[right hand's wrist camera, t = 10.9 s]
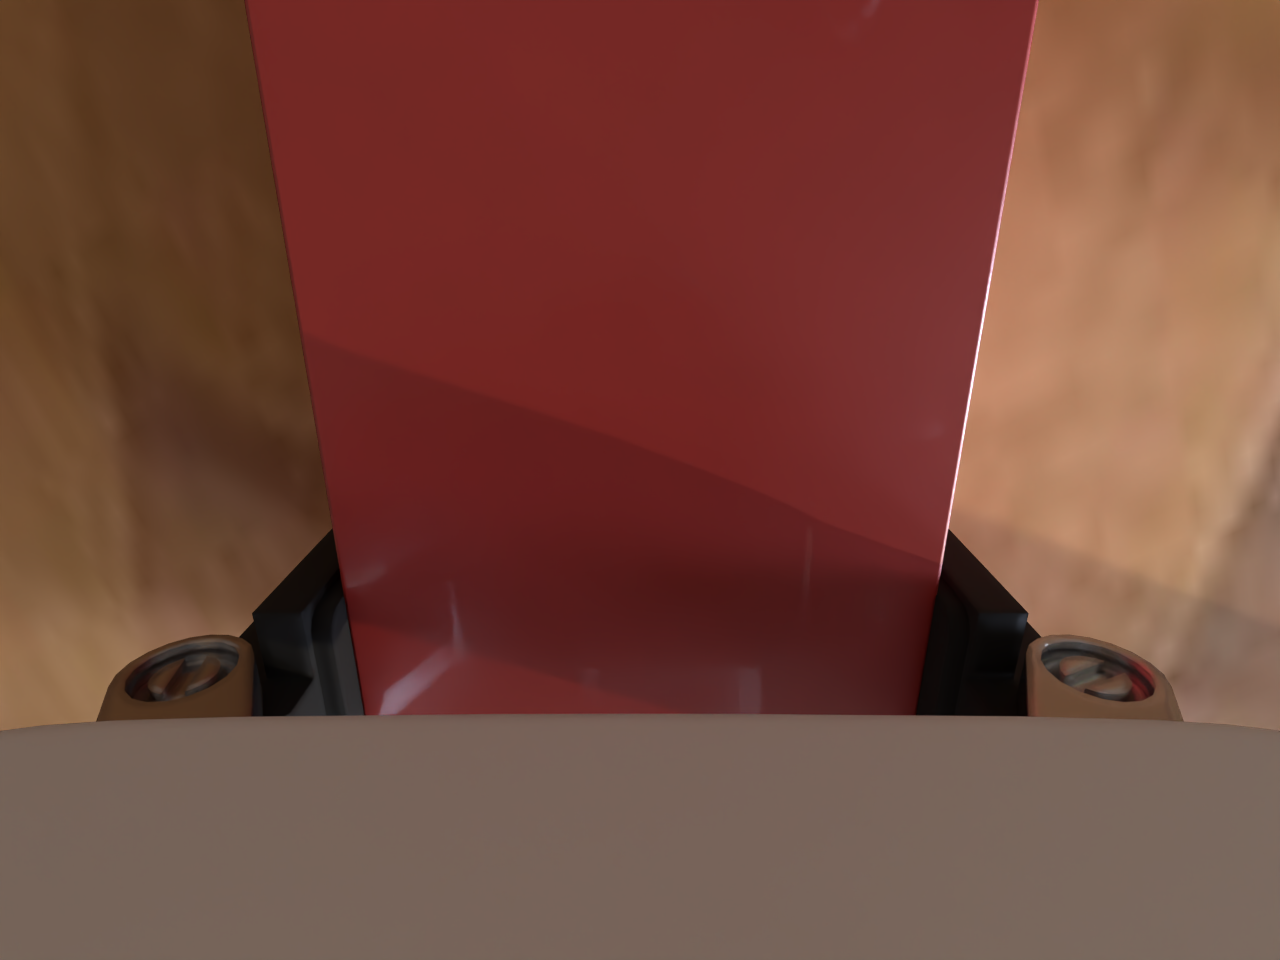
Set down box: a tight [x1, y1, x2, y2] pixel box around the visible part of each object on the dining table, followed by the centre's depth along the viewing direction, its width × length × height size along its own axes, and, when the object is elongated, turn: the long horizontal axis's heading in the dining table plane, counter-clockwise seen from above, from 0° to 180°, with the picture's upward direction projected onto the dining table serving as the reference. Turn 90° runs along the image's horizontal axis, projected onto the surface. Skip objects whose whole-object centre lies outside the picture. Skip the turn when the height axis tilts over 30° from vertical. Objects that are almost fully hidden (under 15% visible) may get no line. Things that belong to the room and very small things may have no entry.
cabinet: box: [244, 0, 1039, 715], centre depth 10 cm, size 20×7×8 cm, turn 0°
